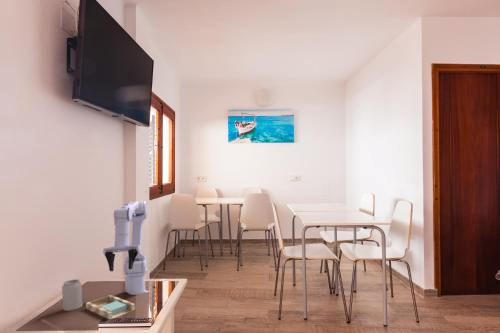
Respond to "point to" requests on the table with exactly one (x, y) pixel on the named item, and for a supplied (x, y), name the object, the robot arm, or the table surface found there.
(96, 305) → the tray
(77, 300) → the can
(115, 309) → the pale teal square slab
